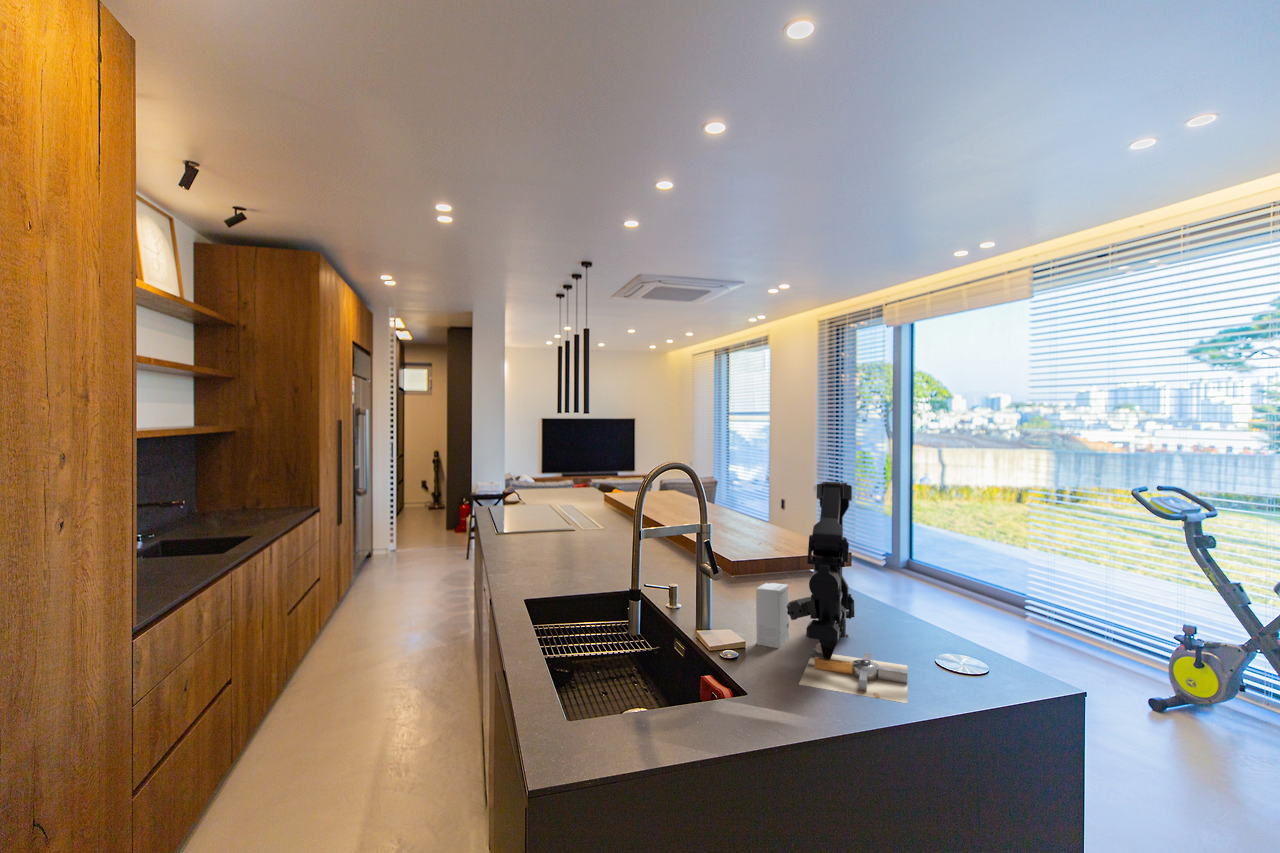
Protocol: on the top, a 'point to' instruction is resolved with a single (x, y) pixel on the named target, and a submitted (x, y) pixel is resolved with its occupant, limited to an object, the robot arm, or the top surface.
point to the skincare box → (772, 614)
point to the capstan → (862, 670)
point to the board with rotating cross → (853, 679)
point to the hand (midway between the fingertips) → (827, 660)
